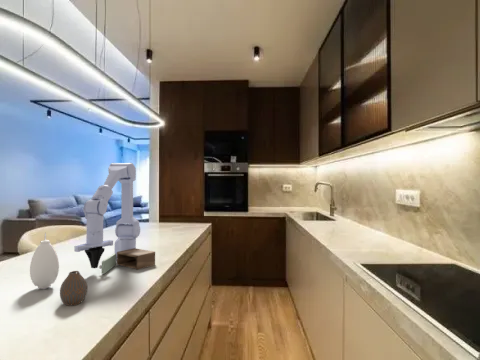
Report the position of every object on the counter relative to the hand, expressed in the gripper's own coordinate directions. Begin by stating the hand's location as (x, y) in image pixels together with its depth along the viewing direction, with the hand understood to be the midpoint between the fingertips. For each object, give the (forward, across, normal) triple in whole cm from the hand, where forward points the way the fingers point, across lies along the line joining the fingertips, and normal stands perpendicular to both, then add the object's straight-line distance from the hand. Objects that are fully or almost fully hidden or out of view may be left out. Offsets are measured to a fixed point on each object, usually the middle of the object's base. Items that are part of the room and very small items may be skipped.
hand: (94, 267), depth 115 cm
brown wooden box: (+2, +17, -2) cm, 18 cm away
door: (+2, +6, +1) cm, 7 cm away
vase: (+3, -20, -21) cm, 29 cm away
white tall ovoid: (+3, -18, -1) cm, 18 cm away
